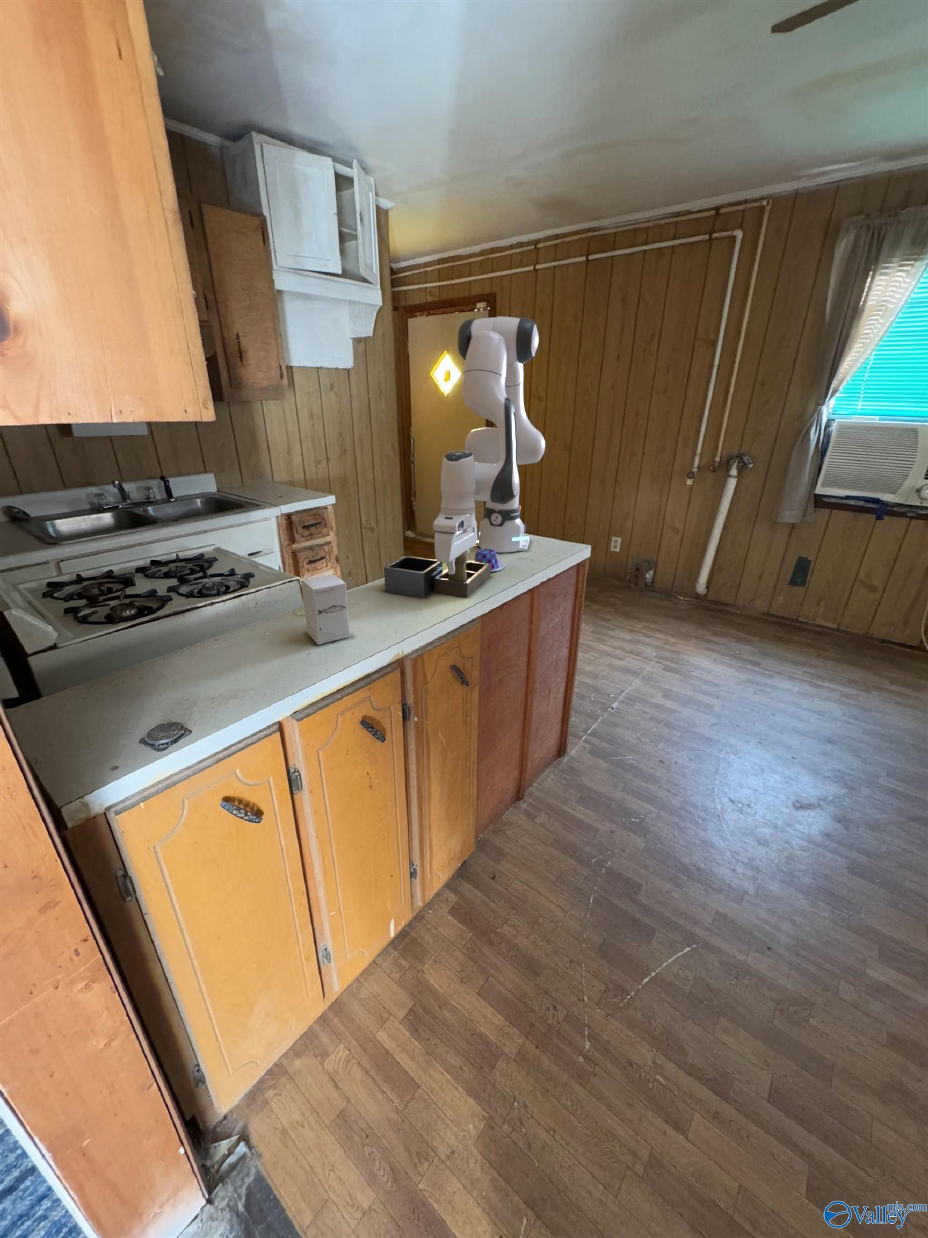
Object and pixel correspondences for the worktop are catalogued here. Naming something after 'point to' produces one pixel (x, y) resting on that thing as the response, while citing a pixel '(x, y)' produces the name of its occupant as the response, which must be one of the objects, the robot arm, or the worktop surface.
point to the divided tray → (475, 579)
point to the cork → (460, 568)
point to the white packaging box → (326, 608)
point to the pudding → (489, 559)
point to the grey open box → (412, 576)
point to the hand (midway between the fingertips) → (457, 569)
